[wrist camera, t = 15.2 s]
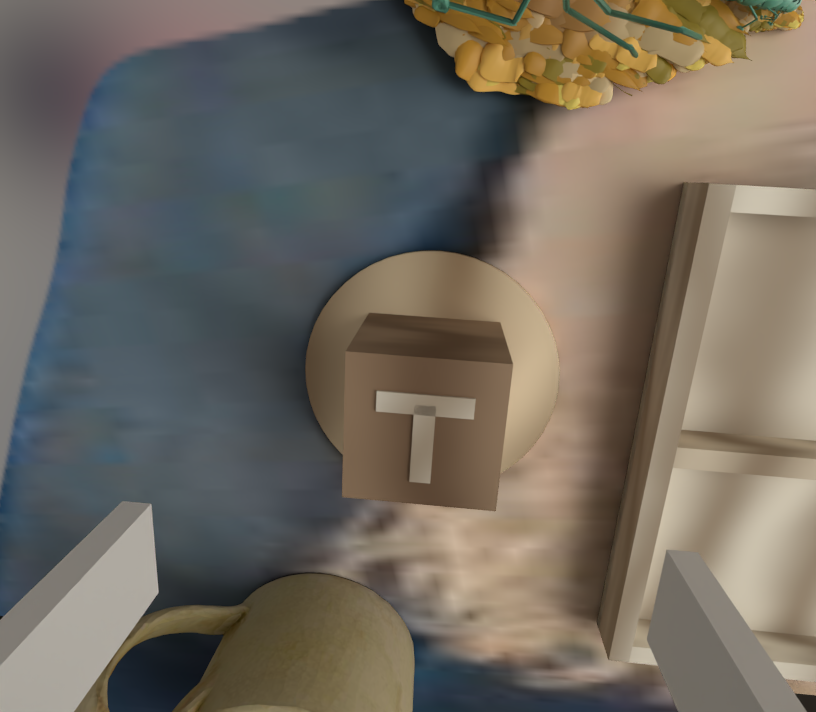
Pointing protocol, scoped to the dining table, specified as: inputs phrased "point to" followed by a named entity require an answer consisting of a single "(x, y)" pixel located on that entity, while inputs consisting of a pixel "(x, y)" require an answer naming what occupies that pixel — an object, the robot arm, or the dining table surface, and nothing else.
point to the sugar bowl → (289, 651)
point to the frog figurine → (593, 41)
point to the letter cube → (425, 411)
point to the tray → (728, 425)
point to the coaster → (442, 298)
